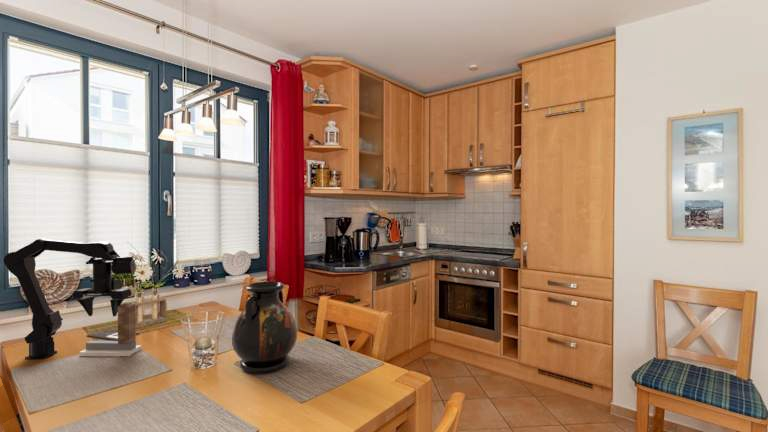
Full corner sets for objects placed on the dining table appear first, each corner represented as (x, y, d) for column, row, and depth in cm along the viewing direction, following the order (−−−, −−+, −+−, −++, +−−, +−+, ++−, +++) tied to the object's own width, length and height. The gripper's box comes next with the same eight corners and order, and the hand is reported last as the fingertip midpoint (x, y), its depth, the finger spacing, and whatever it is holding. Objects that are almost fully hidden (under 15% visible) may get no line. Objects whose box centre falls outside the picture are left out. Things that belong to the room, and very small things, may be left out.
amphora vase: (272, 383, 116) (272, 293, 115) (217, 373, 123) (217, 288, 122) (308, 357, 136) (308, 281, 136) (259, 349, 143) (259, 277, 143)
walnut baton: (117, 344, 137) (117, 306, 137) (124, 340, 141) (123, 303, 141) (129, 343, 137) (129, 306, 137) (135, 340, 141) (135, 303, 141)
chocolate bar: (108, 328, 165) (138, 333, 160) (108, 330, 165) (138, 335, 160) (86, 335, 157) (118, 340, 151) (86, 337, 157) (118, 342, 151)
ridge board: (79, 356, 136) (79, 345, 136) (94, 348, 143) (94, 338, 143) (128, 356, 136) (128, 345, 136) (141, 349, 143) (141, 338, 143)
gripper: (140, 271, 149) (141, 310, 150) (94, 271, 150) (95, 310, 150) (120, 276, 138) (121, 318, 139) (71, 276, 138) (71, 318, 139)
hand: (102, 316), depth 142 cm, fingers open, 9 cm apart
